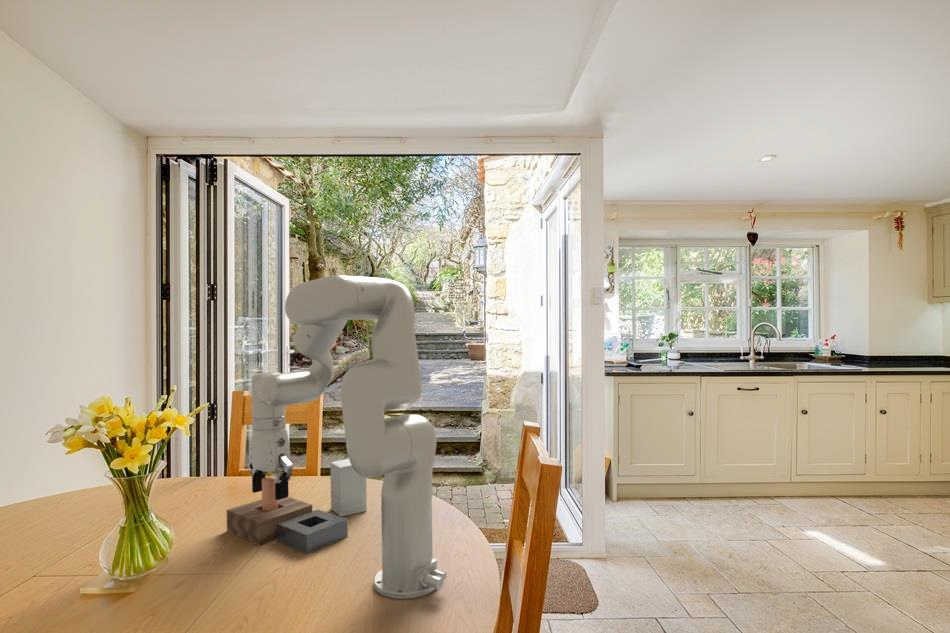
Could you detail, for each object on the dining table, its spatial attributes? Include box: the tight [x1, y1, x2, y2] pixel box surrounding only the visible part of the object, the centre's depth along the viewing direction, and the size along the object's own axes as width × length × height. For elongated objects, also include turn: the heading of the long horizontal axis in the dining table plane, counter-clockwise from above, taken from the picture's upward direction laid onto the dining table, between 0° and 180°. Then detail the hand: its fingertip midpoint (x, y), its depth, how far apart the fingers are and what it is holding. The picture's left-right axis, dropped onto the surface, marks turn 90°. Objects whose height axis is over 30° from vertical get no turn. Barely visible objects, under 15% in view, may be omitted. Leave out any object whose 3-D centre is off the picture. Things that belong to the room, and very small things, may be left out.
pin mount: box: [276, 509, 349, 555], centre depth 121 cm, size 11×11×4 cm
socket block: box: [226, 496, 313, 546], centre depth 128 cm, size 14×14×5 cm
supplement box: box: [329, 458, 368, 517], centre depth 140 cm, size 7×7×13 cm
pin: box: [261, 475, 278, 512], centre depth 128 cm, size 4×4×12 cm
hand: (270, 494), depth 128 cm, fingers open, 9 cm apart
